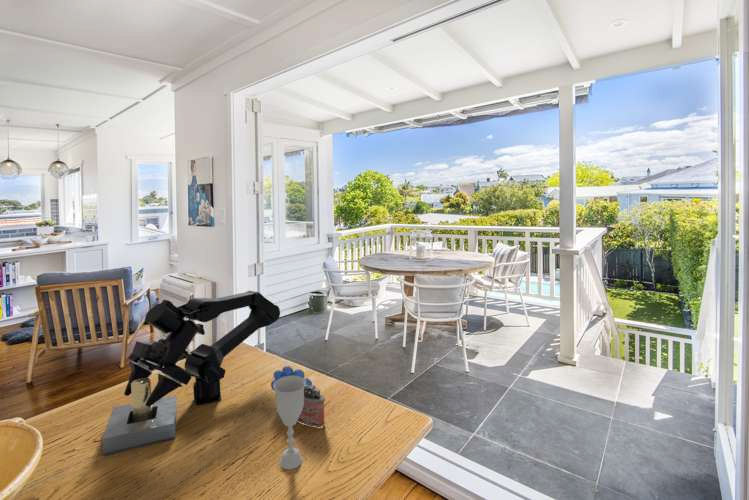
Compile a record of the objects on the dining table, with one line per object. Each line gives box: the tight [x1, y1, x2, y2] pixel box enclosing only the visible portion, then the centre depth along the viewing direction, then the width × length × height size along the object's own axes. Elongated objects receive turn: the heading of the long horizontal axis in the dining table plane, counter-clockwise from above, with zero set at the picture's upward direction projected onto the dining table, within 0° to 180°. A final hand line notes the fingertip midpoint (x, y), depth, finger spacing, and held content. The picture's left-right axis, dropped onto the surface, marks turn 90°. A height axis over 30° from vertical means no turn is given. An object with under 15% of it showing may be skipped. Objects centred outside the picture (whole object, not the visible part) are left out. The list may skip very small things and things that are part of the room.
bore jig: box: [101, 395, 178, 456], centre depth 92 cm, size 14×14×4 cm
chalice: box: [273, 376, 306, 470], centre depth 81 cm, size 7×7×18 cm
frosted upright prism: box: [131, 377, 153, 423], centre depth 91 cm, size 4×4×12 cm
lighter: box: [298, 384, 326, 427], centre depth 96 cm, size 8×3×10 cm, turn 65°
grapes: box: [270, 365, 313, 392], centre depth 102 cm, size 12×7×12 cm, turn 87°
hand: (136, 400), depth 90 cm, fingers open, 9 cm apart
